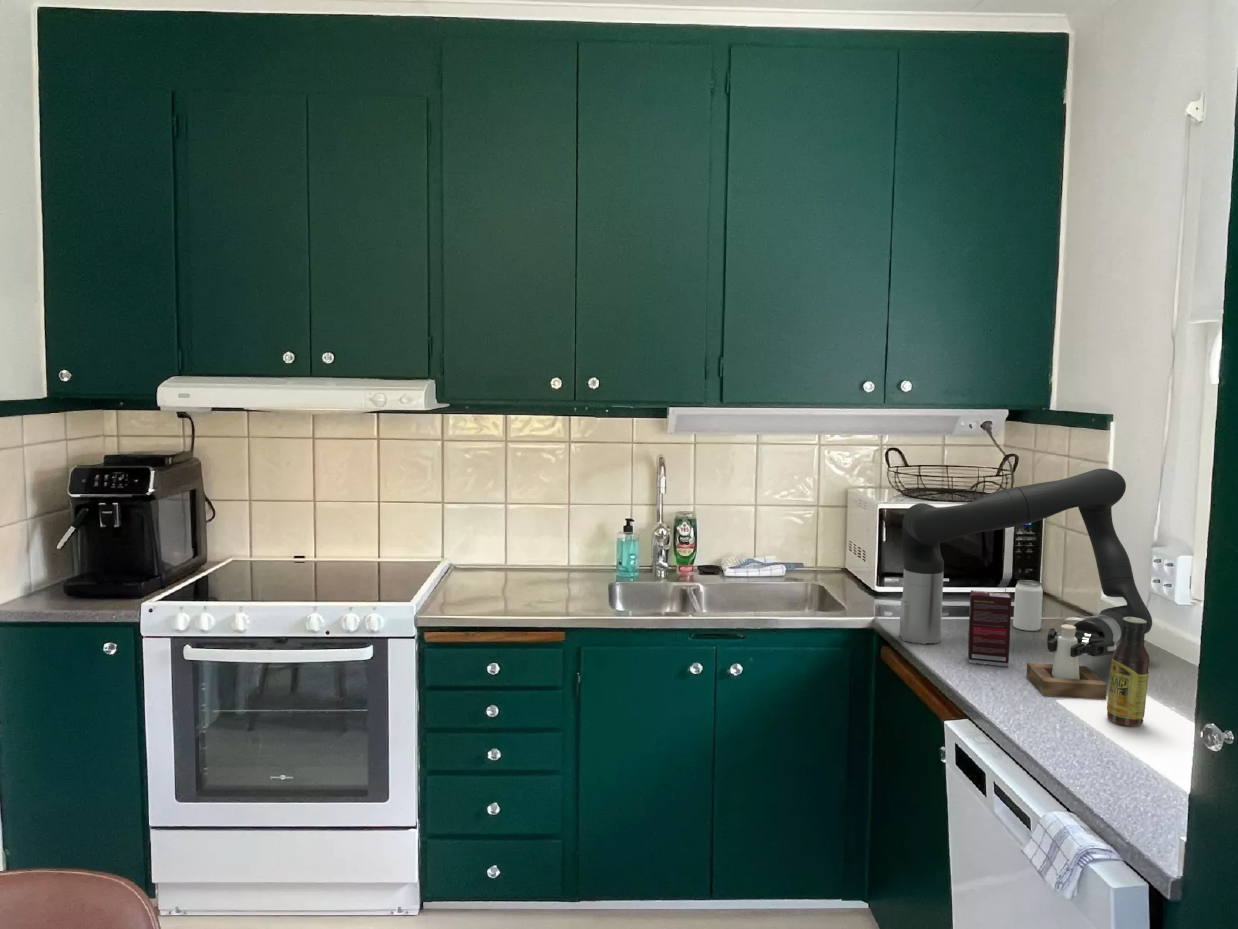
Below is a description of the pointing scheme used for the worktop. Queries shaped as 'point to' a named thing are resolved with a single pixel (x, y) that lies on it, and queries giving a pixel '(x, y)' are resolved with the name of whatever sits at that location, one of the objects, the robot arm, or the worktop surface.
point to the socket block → (1066, 682)
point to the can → (1028, 605)
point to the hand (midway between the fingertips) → (1061, 649)
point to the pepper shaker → (1066, 655)
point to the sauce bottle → (1129, 675)
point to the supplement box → (989, 628)
